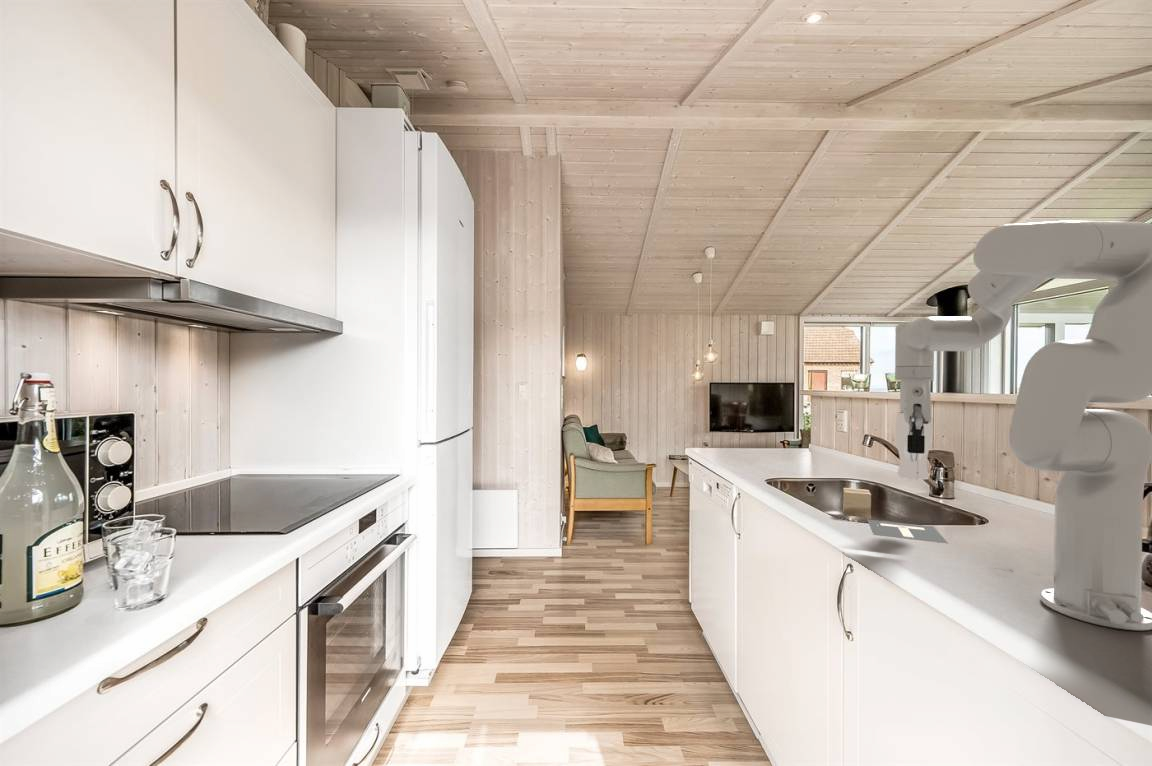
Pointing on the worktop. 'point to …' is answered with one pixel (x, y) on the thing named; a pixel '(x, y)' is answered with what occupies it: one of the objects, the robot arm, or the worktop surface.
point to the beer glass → (912, 462)
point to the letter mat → (906, 531)
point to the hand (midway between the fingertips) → (913, 450)
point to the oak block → (857, 502)
